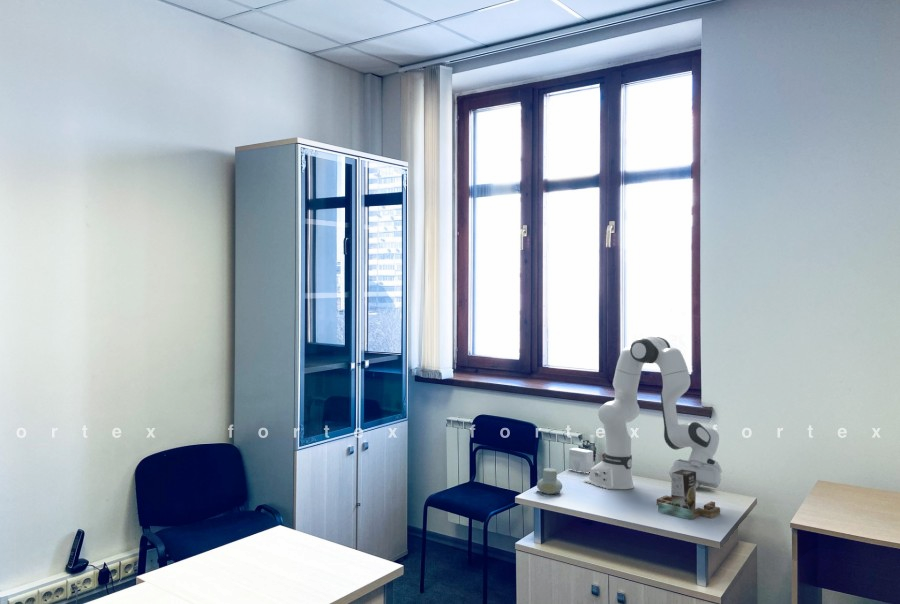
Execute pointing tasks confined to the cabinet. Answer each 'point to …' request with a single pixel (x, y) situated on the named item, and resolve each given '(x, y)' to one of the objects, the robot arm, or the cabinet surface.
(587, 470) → the skincare box
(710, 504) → the lane
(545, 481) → the air freshener
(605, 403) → the robot arm
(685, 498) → the coffee box
